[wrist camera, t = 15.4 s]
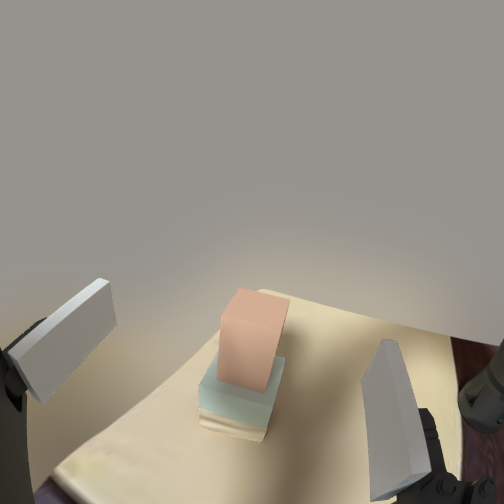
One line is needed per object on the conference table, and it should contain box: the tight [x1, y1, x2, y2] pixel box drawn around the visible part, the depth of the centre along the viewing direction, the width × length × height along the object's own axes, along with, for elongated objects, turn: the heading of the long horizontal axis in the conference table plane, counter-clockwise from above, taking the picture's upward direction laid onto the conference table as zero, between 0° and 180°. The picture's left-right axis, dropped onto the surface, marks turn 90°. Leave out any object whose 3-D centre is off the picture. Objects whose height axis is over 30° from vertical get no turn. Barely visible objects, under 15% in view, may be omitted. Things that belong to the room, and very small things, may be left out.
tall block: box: [216, 288, 290, 393], centre depth 30 cm, size 6×6×10 cm
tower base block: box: [200, 408, 270, 442], centre depth 35 cm, size 9×9×5 cm
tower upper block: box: [199, 352, 286, 428], centre depth 33 cm, size 9×9×5 cm
